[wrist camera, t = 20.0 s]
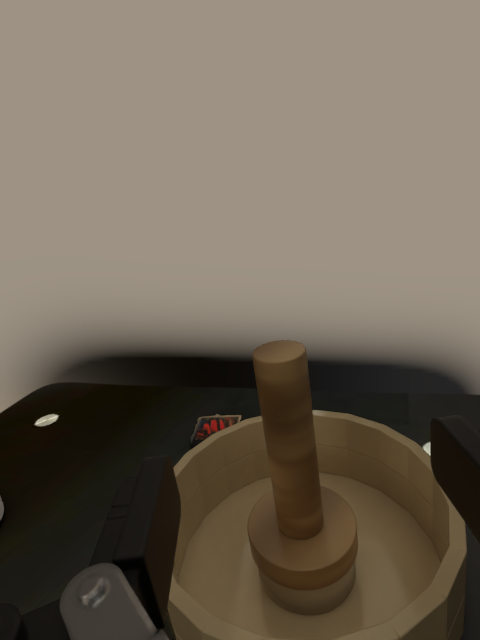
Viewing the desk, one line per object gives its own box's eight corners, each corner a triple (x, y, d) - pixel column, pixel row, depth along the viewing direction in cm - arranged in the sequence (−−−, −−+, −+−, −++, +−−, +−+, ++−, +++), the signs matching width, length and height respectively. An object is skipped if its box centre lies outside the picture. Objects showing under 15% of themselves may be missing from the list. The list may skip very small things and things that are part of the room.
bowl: (499, 541, 21) (506, 461, 19) (371, 892, 11) (362, 792, 10) (281, 448, 30) (273, 390, 29) (116, 594, 21) (90, 520, 19)
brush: (378, 556, 20) (367, 336, 16) (323, 646, 17) (293, 394, 13) (294, 511, 24) (269, 321, 20) (234, 577, 20) (190, 363, 16)
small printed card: (191, 456, 31) (189, 451, 31) (192, 420, 36) (191, 416, 35) (250, 445, 31) (250, 440, 31) (243, 411, 36) (243, 406, 36)
